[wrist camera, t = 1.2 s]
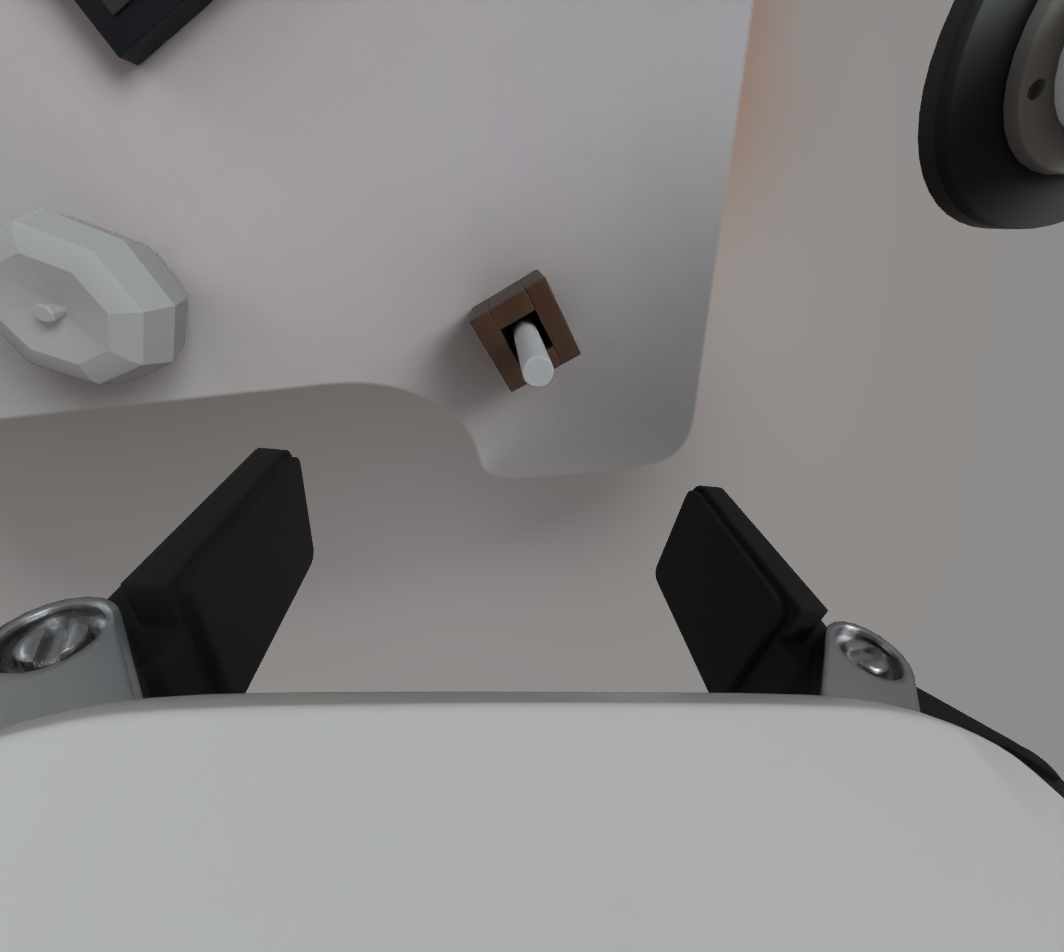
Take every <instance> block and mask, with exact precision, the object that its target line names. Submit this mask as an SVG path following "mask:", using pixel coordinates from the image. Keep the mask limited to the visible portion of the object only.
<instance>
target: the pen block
mask: <svg viewBox="0 0 1064 952" xmlns="http://www.w3.org/2000/svg"><path fill="white" fill-rule="evenodd" d="M534 310H535V311H536V313H537V315H538V317H539V319H540V321H541V323H542V325H543V327H544V329H545V331H543V332H541V333H540V334H539V335H540V337H541V340H542V342H543V344H544V346H545V349H546V351H547V353H548V356H549V358H550V360H551V362H552V365H553V368H554V369H555V368H556V367H558V366H560V365H562V364H564V363H565V362H567V361H569V360H571V359H573V358H574V357H576V356H578V355H580V351H579V349H578V347H577V344H576V342H575V340H574V338H573V336H572V334H571V332H570V329H569V327H568V325H567V323H566V321H565V319H564V317H563V314H562V312H561V310H560V308H559V306H558V304H557V302H556V299H555V297H554V295H553V293H552V291H551V289H550V287H549V284H548V282H547V280H546V278H545V277H544V276H543V275H542V274H541V273H540V272H539V271H538V270H535V271H533V272H532V273H530V274H528V275H527V276H525V277H523V278H522V279H521V280H518V281H517V282H515V283H513V284H512V285H510V286H508V287H507V288H505V289H503V290H502V291H500V292H498V293H497V294H495V295H493V296H492V297H490V298H489V299H487V300H485V301H483V302H482V303H480V304H478V305H477V306H475V307H473V308H472V314H471V320H470V323H471V325H472V326H473V328H474V330H475V331H476V333H477V335H478V336H479V338H480V340H481V341H482V343H483V345H484V347H485V348H486V350H487V352H488V353H489V355H490V357H491V358H492V360H493V362H494V363H495V365H496V367H497V368H498V370H499V372H500V373H501V375H502V377H503V378H504V380H505V382H506V384H507V385H508V387H509V389H510V390H511V392H513V391H514V390H516V389H518V388H520V387H522V386H524V385H525V384H527V383H526V382H525V380H524V379H523V376H522V371H521V367H520V362H519V358H518V353H517V348H516V347H515V345H514V343H513V341H512V340H511V338H510V336H509V334H508V332H507V331H506V329H505V327H507V326H508V325H510V324H512V323H514V322H515V321H517V320H519V319H520V318H522V317H524V316H526V315H527V314H529V313H531V312H532V311H534Z"/></svg>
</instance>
